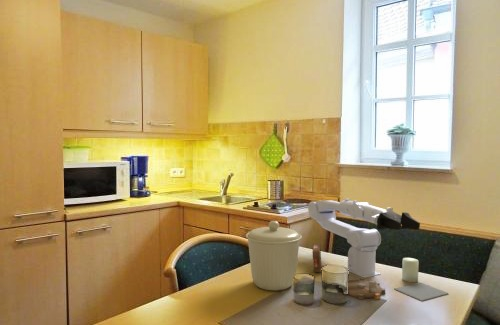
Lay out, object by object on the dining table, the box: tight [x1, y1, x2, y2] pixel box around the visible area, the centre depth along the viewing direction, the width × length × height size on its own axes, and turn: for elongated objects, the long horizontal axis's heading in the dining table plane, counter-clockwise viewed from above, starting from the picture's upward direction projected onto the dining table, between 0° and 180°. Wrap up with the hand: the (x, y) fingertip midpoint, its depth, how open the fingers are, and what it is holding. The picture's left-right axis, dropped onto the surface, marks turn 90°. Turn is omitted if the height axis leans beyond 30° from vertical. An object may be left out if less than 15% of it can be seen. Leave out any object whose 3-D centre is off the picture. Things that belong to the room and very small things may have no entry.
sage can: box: [401, 257, 420, 283], centre depth 126 cm, size 5×5×7 cm
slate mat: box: [394, 281, 449, 302], centre depth 116 cm, size 10×12×1 cm
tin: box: [312, 243, 322, 273], centre depth 138 cm, size 15×3×8 cm, turn 168°
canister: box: [245, 220, 303, 291], centre depth 121 cm, size 18×18×21 cm
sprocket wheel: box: [347, 278, 386, 300], centre depth 116 cm, size 14×14×4 cm
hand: (409, 226), depth 114 cm, fingers open, 7 cm apart
